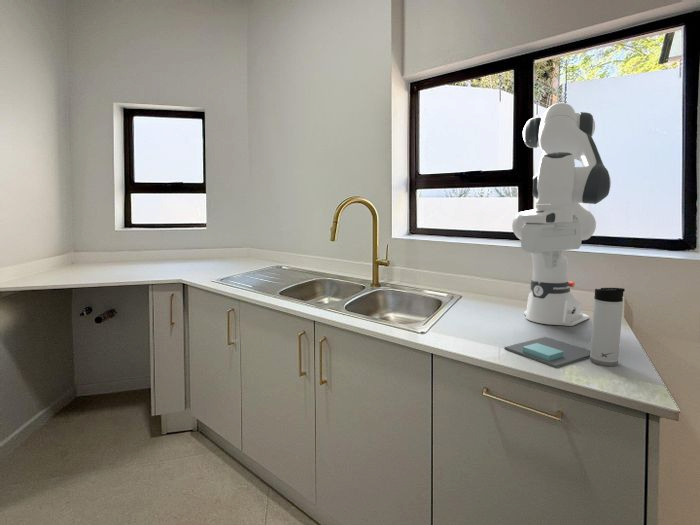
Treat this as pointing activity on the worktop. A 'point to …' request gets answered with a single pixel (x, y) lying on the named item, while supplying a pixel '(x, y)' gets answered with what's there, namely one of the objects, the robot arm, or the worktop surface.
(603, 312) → the travel mug
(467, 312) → the worktop surface
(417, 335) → the worktop surface
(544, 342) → the mat
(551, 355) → the block
